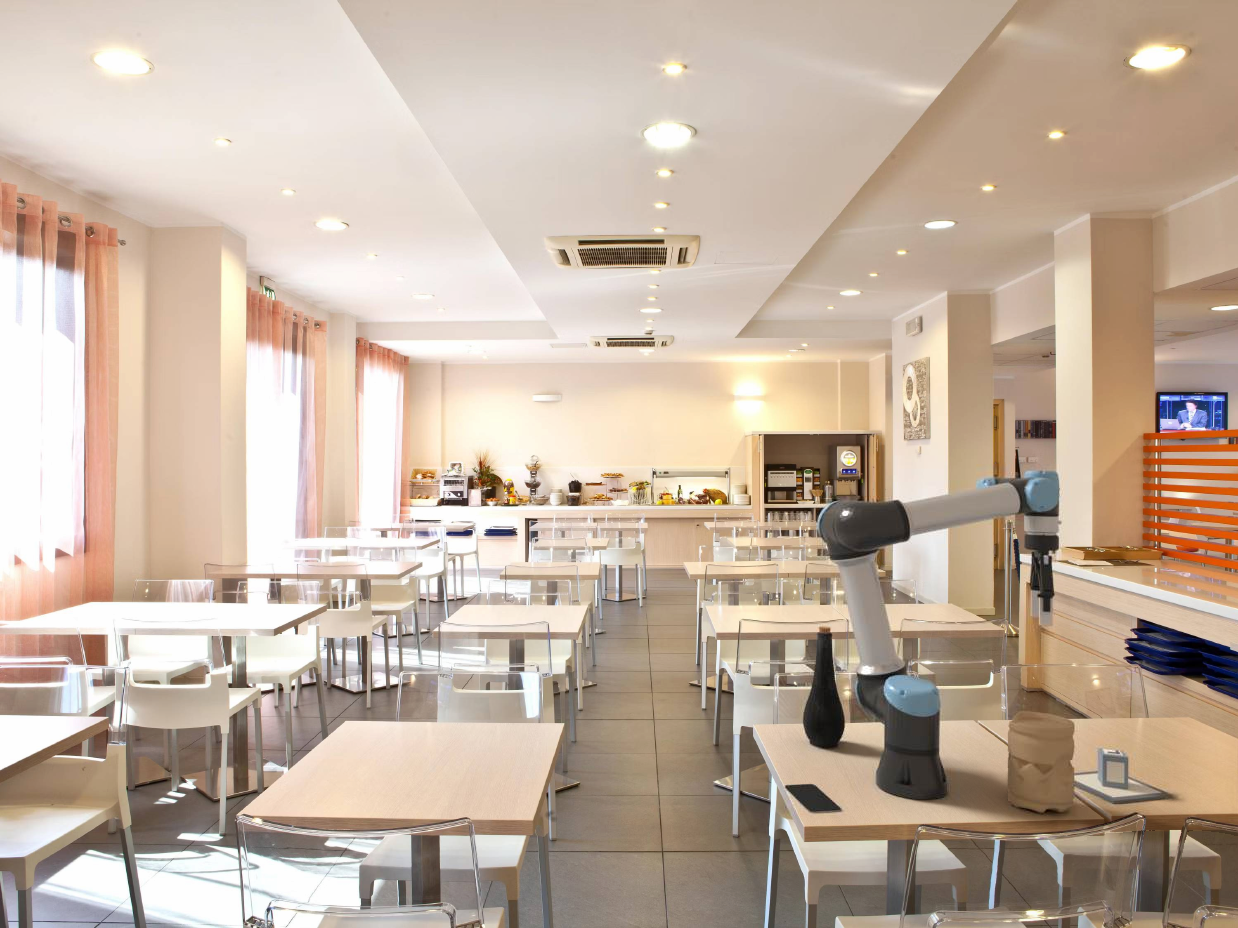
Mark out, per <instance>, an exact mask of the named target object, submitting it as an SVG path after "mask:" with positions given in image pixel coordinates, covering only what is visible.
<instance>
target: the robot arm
mask: <svg viewBox="0 0 1238 928" xmlns="http://www.w3.org/2000/svg"><path fill="white" fill-rule="evenodd" d="M1060 490H1061V487H1060V479H1059V474H1058V472H1056V471H1054V470H1026V471H1025V473H1024V475H1023V477H994V476H993V477H983V478H980V479H979V480H978V481H977V483H976V485H975V488H973V489H967V490H962V491H958V492H953V493H948V494H942V495H938V496H932V497H927V498H922V499H917V500H911V501H907V502H906V501H905V502H903V501H902V500H900V499H893V500H888V501H865V500H853V499H845V498H844V499H840V500H836V501H832V502H830V503H829V504H826V505H825V507H824V508H822V510H821V512H820V514H819V515H818V517H817V522H816V523H817V524H816V525H817V526H816V527H817V533H818V535H819V536H820V538H821V540H822V541H823V542H824V543H825V544H826V548H827V551H828V557H829V561H831V562H832V563H833V564H836V565H837V567H838V570H839V577H840V580H841V583H842V584H841V585H842V588H843V592H844V596H845V601H846V607H847V610H848V614H849V618H850V623H851V629H852V632H853V636H854V640H855V641H854V642H855V644H856V649H857V654H858V656H859V662H858V665H857V666H856V667H855V673H856V678H857V680H856V682H855V685H854V686H855V687H854V690H855V696H856V699H857V702H858V703H859V705H860V706H861V708H862V709H863V710H864V712H866V713H867V714H868V715H869V716H871V717H872V718H874V719H876V720H877V721H878V722H879V723H881V724H882V725H883V726H884V727H883V729H884V731H883V734H884V735H883V740H884V742H883V743H884V744H883V746H884V747H883V751H882V754H881V757H880V759H879V763H878V766H877V768H876V771H875V784H876V786H877V787H878V788H879V789H881V790H882V791H884V792H886V793H889V794H891V795H894V796H898V797H902V798H908V799H916V800H935V799H936V800H937V799H940V798H944V797H945V796H946V795H947V794H948V791H949V790H948V788H949V787H948V786H949V785H948V783H949V782H948V778H947V775H946V772H945V769H944V766H943V763H942V760H941V755H940V733H941V731H940V728H941V723H940V722H941V719H940V718H941V714H940V713H941V704H942V703H941V700H940V699H941V698H940V697H941V696H940V691H939V688H938V687H937V686H936V685H935V683H933V682H932V681H930V680H928V679H925V678H920V677H918V676H915V675H909V673H908V670H907V664H906V661H905V660H904V659H902V658H901V657H899V656H898V655H897V652H896V647H895V643H894V639H893V634H892V630H891V626H890V622H889V618H888V614H887V607H886V604H885V600H884V596H883V591H882V587H881V582H880V579H879V574H878V569H877V566H876V560H875V559H876V557H877V555H878V554H879V553H880V549H881V548H885V547H888V546H892V545H896V544H901V543H905V542H908V541H910V539H911V538H912V537H913V536H918V535H921V534H927V533H931V532H932V533H933V532H936V531H941V530H946V529H951V528H955V527H956V528H957V527H960V526H965V525H970V524H974V523H979V522H985V521H986V522H987V521H990V520H994V519H1000V518H1004V517H1010V516H1013V515H1014V516H1015V515H1021V514H1024V516H1023V520H1024V521H1023V523H1024V524H1023V529H1024V530H1023V531H1024V532H1026V534H1024V539H1023V540H1024V549H1026V550H1029V551H1031V558H1030V559H1031V560H1030V561H1031V563H1030V577H1029V583H1028V585H1029V587H1030V588H1029V589H1030V617H1032V618H1039V619H1038V624H1039V626H1043V627H1053V619H1054V618H1053V616H1054V615H1053V614H1054V613H1053V607H1054V606H1053V604H1054V603H1053V602H1054V601H1053V600H1054V599H1053V598H1054V597H1055V595H1056V594H1055V593H1056V592H1055V587H1054V576H1053V574H1054V573H1053V557H1052V555H1050V553H1049V552H1050V551H1051V552H1055V551H1058V550H1059V549H1060V537H1059V535H1058V533H1059V531H1060V526H1059V525H1062V520H1059V519H1060V517H1059V516H1060V497H1061V496H1060V495H1061V494H1060Z"/></svg>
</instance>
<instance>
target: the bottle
mask: <svg viewBox="0 0 1238 928" xmlns="http://www.w3.org/2000/svg"><path fill="white" fill-rule="evenodd" d="M816 635H817V641H816V642H817V643H816V656H815V663H814V670H813V677H812V682H811V687H810V691H809V694H808V698H807V700H806V703H805V707H804V709H803V710H804V711H803V714H802V715H803V716H802V725H803V729H804V732H805V735H806V738H807V739H808V741H809V744H810V745H811V746H813V747H816V748H817V747H818V748H820V749H821V748H822V749H833V748H837V747H838V745H839V742H840V740H842V737H843V735H844V732H845V728H846V720H845V712H844V708H843V705H842V702H841V699H840V696H839V692H838V687H837V681H836V675H835V665H834V656H833V633H831V627H830V626H819V627H818V632H817V633H816Z"/></svg>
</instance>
